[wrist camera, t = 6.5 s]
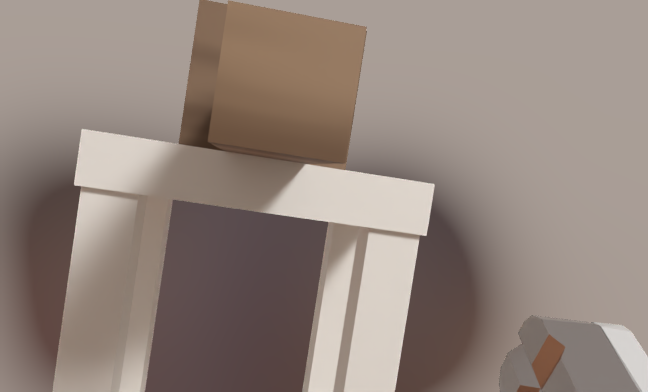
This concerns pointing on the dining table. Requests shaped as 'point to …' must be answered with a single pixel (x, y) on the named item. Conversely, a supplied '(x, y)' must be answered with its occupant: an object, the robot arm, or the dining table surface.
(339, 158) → the brown long block
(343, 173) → the stool
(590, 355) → the robot arm
